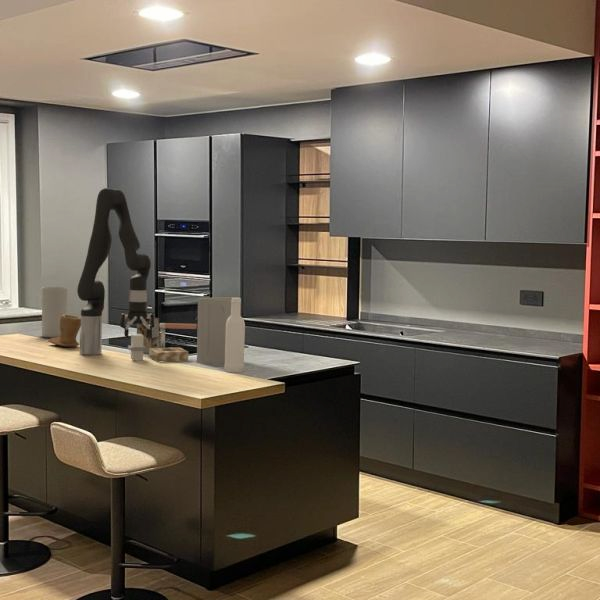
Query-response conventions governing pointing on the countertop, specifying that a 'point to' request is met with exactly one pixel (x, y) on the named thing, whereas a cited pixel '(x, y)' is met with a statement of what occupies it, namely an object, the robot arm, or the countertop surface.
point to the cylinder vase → (53, 310)
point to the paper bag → (212, 329)
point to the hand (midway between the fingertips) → (136, 337)
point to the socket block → (168, 354)
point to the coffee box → (154, 335)
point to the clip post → (162, 338)
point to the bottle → (235, 339)
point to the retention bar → (178, 326)
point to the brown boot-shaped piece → (67, 331)
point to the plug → (137, 347)
